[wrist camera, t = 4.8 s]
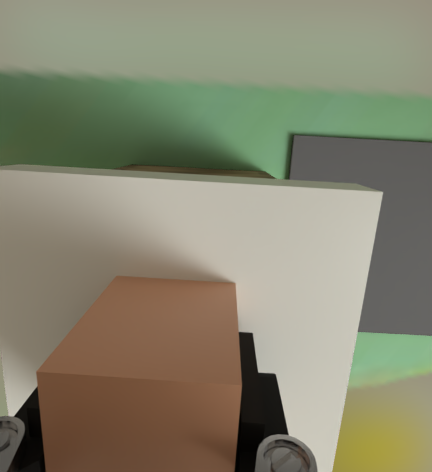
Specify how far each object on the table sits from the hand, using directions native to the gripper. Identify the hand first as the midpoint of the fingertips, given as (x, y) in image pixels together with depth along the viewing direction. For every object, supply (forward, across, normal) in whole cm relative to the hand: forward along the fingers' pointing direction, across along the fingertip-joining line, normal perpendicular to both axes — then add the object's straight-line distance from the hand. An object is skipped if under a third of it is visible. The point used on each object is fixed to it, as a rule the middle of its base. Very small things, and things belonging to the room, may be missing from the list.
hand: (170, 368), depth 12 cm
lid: (+3, 0, 0) cm, 3 cm away
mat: (+19, -15, 0) cm, 24 cm away
